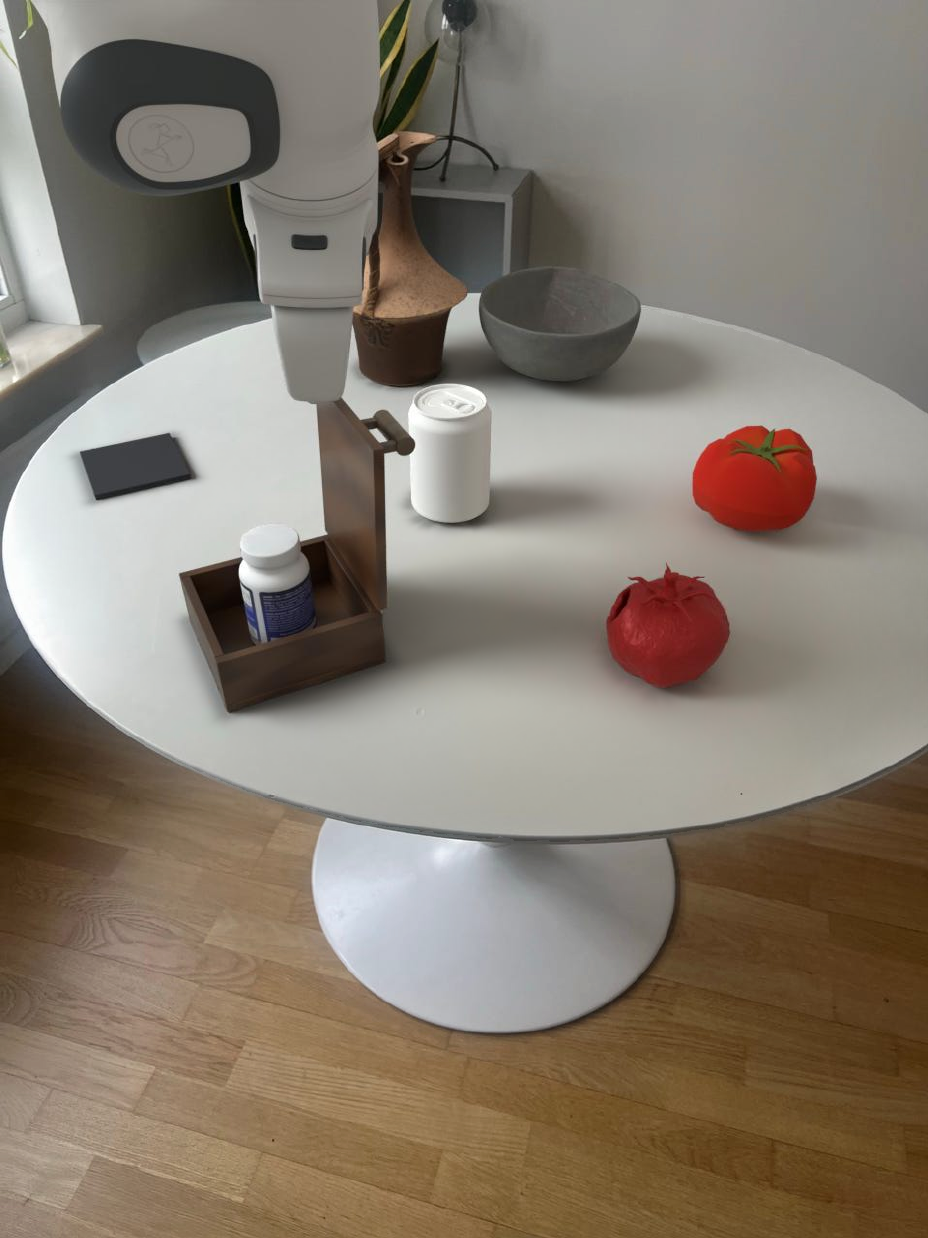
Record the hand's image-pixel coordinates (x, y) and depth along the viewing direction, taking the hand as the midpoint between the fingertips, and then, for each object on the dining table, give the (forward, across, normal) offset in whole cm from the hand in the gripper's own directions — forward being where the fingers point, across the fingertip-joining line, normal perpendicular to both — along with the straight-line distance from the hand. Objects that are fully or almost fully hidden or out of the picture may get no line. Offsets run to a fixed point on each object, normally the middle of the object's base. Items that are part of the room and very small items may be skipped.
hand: (318, 351), depth 73 cm
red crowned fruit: (+15, +21, +28) cm, 38 cm away
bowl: (+35, -31, +29) cm, 55 cm away
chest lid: (+7, +9, +2) cm, 11 cm away
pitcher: (+37, -33, +9) cm, 50 cm away
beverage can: (+25, -3, +13) cm, 28 cm away
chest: (+18, +16, -4) cm, 24 cm away
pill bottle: (+18, +16, -4) cm, 24 cm away
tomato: (+21, +1, +43) cm, 48 cm away
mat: (+30, -12, -21) cm, 39 cm away
